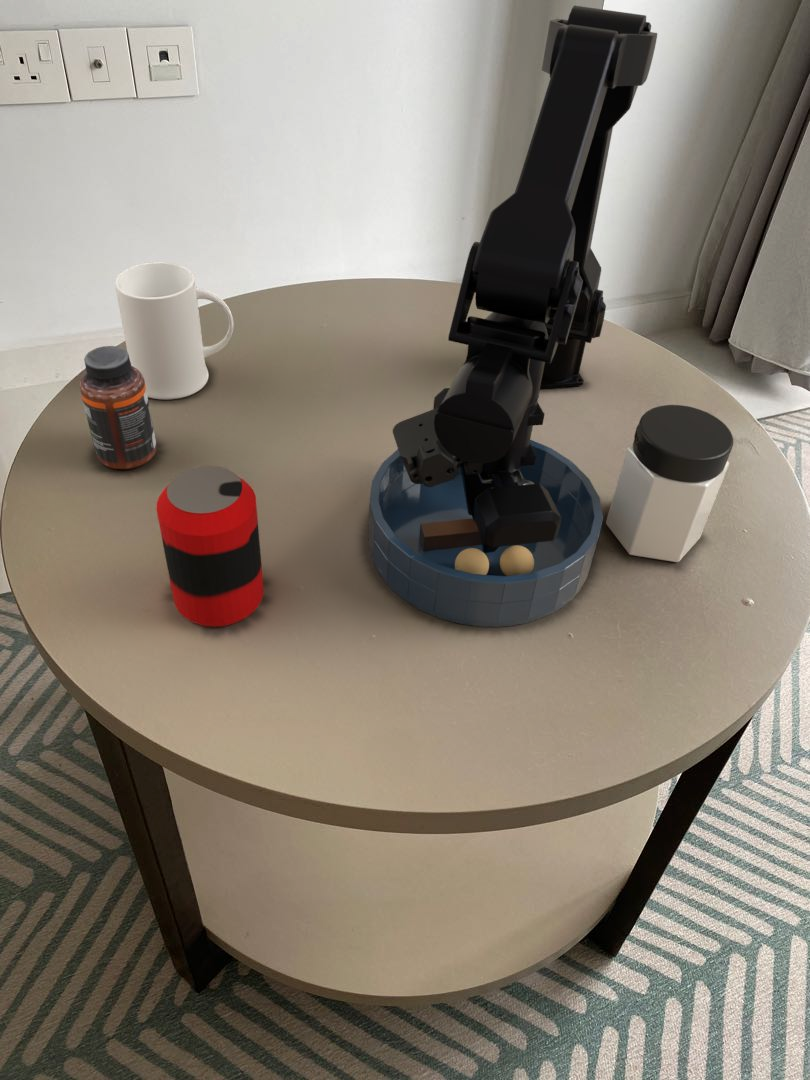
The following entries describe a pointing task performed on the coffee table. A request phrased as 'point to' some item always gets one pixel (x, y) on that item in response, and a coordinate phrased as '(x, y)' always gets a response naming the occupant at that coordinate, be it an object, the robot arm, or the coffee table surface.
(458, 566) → the cork ball
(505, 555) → the cork ball
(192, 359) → the mug
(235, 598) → the soda can
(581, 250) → the robot arm
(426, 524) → the stick
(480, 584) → the bowl
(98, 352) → the supplement bottle
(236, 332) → the coffee table surface
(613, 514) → the jar
